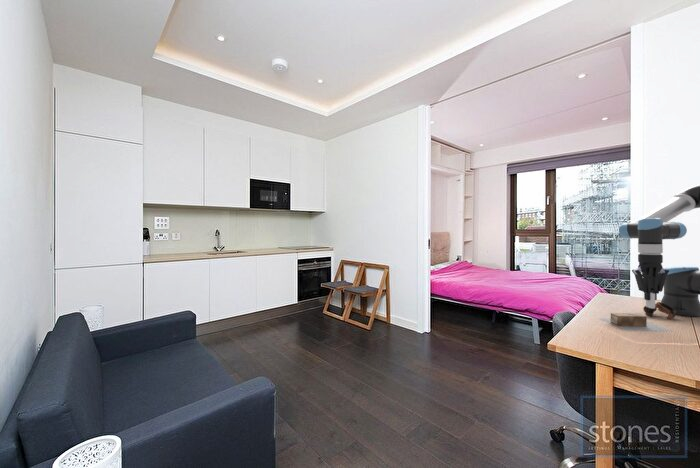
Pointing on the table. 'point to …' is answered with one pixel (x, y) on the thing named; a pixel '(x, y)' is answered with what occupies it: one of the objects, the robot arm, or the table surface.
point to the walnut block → (629, 319)
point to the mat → (649, 327)
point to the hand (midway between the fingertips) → (650, 307)
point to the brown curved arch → (663, 308)
